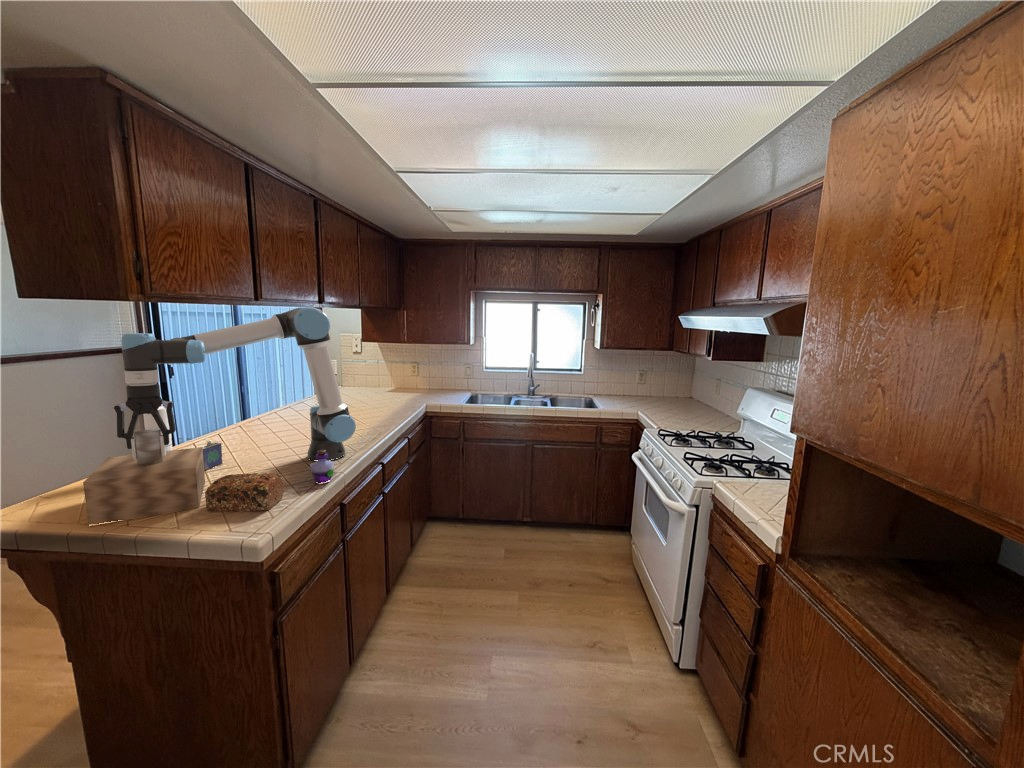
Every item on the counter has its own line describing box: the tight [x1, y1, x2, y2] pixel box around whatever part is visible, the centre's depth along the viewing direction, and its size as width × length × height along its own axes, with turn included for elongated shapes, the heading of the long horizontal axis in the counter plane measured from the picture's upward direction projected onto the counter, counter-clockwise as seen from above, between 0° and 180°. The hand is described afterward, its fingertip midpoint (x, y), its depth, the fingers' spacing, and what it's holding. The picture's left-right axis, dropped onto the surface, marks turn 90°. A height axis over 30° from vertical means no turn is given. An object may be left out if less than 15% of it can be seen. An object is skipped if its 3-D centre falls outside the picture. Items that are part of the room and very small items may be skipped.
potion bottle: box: [309, 450, 335, 483], centre depth 146 cm, size 9×9×12 cm
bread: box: [204, 472, 284, 513], centre depth 126 cm, size 19×11×10 cm, turn 93°
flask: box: [201, 440, 223, 472], centre depth 158 cm, size 9×3×11 cm, turn 172°
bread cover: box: [82, 429, 206, 526], centre depth 126 cm, size 24×24×23 cm
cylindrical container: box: [143, 405, 174, 451], centre depth 149 cm, size 7×7×25 cm
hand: (150, 456), depth 125 cm, fingers closed on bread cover, 6 cm apart
